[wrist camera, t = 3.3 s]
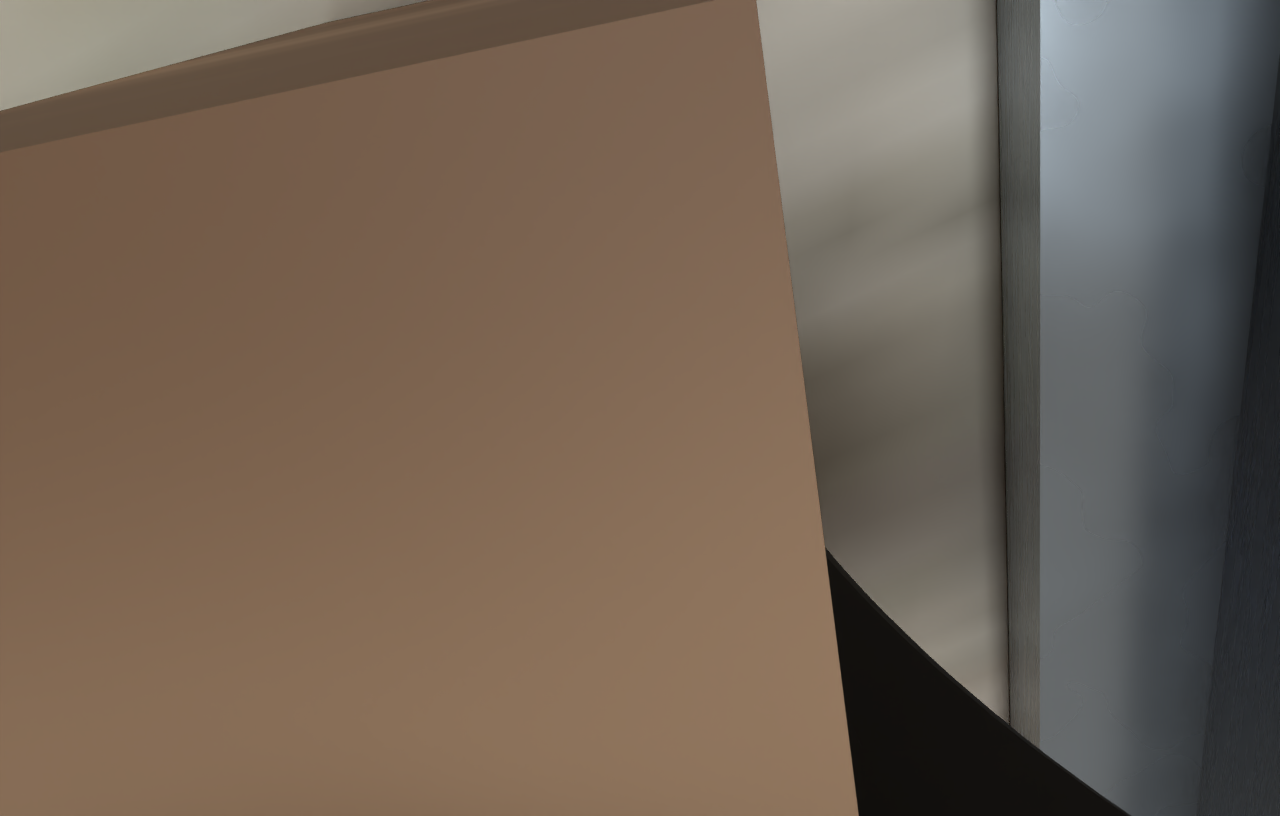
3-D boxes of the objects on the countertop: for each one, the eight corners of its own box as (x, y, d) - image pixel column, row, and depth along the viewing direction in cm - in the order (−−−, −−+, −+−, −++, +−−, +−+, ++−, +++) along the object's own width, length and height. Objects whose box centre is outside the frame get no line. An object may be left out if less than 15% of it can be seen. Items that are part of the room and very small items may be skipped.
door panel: (781, 812, 14) (968, 1691, 7) (589, 844, 14) (581, 1738, 7) (628, -43, 9) (757, -11, 2) (327, 22, 9) (-707, 304, 2)
